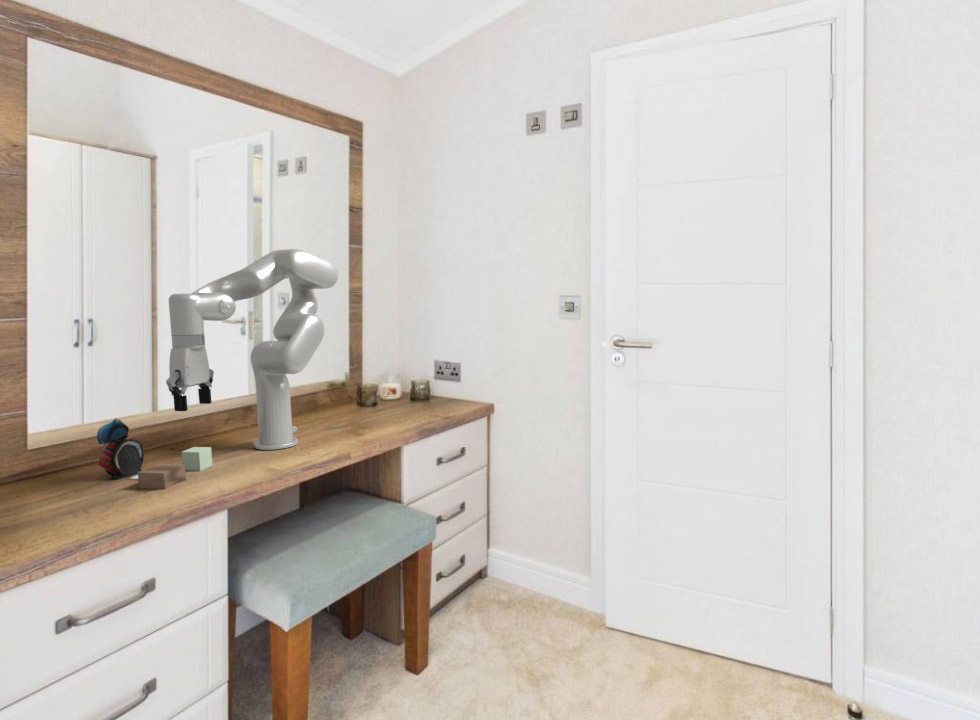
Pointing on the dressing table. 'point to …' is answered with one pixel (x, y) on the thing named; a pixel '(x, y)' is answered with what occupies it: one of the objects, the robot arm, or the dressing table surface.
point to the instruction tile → (135, 477)
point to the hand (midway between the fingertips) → (193, 407)
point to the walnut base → (161, 476)
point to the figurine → (119, 451)
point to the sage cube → (197, 458)
